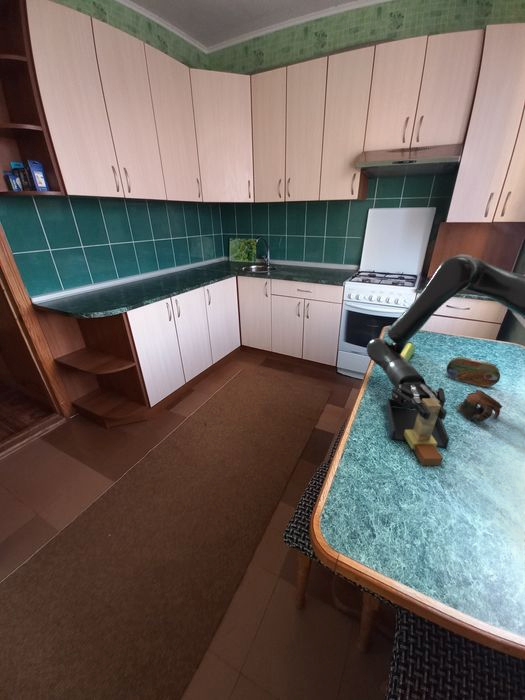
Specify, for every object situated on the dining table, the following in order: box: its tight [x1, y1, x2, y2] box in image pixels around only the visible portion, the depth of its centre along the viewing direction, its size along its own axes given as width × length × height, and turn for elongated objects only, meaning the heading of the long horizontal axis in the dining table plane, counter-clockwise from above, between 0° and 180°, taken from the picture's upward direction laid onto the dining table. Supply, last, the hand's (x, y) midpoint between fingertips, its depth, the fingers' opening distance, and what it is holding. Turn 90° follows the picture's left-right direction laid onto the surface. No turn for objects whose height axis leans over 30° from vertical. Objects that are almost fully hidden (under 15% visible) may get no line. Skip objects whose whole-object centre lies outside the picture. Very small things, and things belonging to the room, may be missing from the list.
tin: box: [446, 356, 501, 388], centre depth 100 cm, size 15×3×8 cm, turn 55°
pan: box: [385, 397, 450, 449], centre depth 86 cm, size 25×13×3 cm, turn 165°
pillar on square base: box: [404, 398, 441, 450], centre depth 73 cm, size 6×5×13 cm
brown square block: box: [413, 445, 444, 467], centre depth 71 cm, size 4×4×2 cm
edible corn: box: [401, 341, 416, 363], centre depth 115 cm, size 5×20×5 cm, turn 144°
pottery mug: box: [456, 389, 503, 422], centre depth 84 cm, size 12×10×8 cm
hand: (435, 416), depth 68 cm, fingers closed on pillar on square base, 3 cm apart
